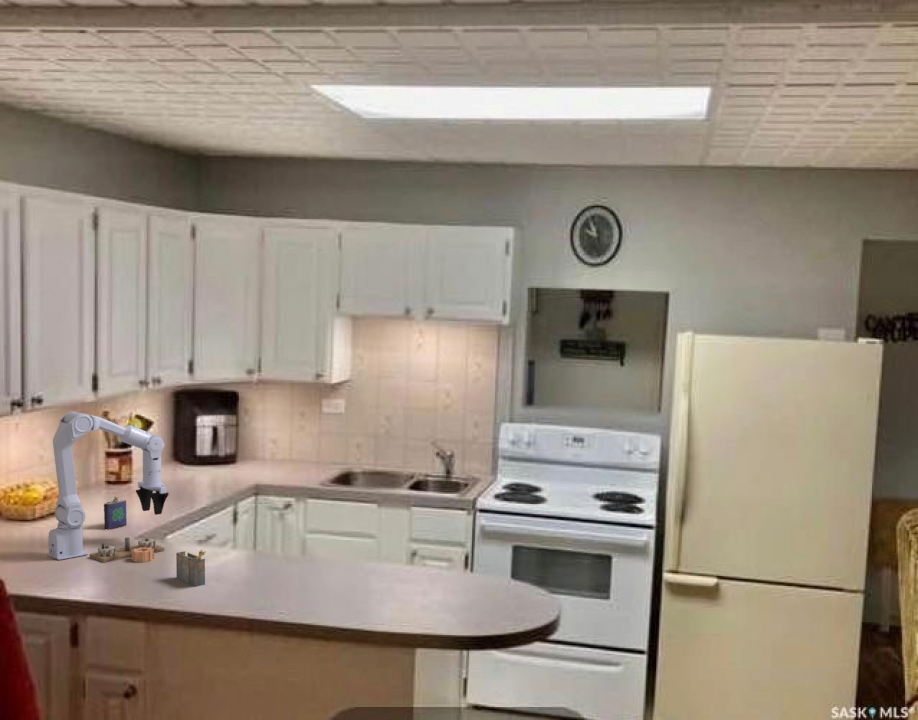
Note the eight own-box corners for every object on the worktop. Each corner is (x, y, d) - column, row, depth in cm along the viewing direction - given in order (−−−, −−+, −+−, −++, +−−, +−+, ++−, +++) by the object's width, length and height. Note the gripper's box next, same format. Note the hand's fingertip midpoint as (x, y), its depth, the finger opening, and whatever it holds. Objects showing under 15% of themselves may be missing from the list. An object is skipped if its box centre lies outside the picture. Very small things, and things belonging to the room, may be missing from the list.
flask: (123, 524, 335) (123, 494, 335) (129, 525, 334) (129, 494, 334) (102, 529, 327) (102, 498, 327) (108, 530, 326) (108, 499, 325)
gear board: (103, 562, 284) (103, 546, 284) (89, 557, 290) (89, 540, 290) (164, 550, 299) (164, 535, 298) (149, 545, 305) (149, 530, 305)
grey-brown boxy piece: (206, 585, 263) (206, 551, 262) (196, 588, 261) (196, 553, 260) (186, 577, 271) (186, 543, 271) (176, 579, 269) (176, 545, 268)
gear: (138, 563, 284) (138, 553, 284) (128, 559, 288) (128, 549, 288) (157, 559, 288) (157, 549, 288) (147, 555, 292) (147, 546, 292)
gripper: (174, 472, 307) (174, 513, 307) (151, 467, 317) (151, 507, 317) (154, 474, 302) (155, 517, 302) (132, 469, 311) (132, 510, 312)
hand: (152, 512), depth 309 cm, fingers open, 7 cm apart
